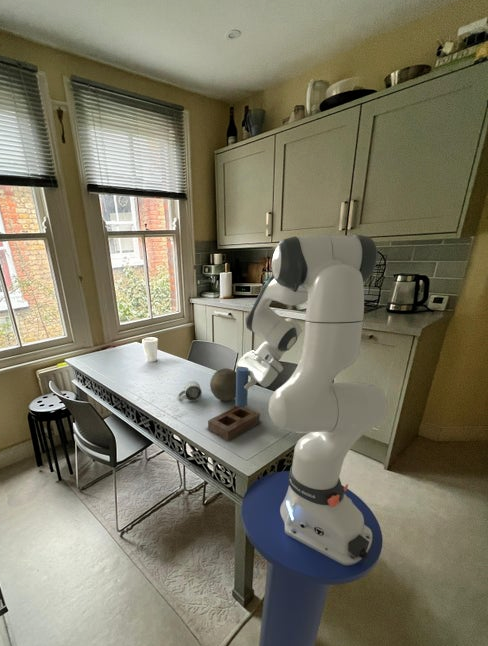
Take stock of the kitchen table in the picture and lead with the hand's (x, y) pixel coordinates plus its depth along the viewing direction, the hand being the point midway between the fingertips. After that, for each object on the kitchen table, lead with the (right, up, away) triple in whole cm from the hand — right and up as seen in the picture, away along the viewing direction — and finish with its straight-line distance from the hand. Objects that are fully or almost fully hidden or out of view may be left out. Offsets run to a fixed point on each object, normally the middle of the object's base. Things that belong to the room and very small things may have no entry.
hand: (241, 385), depth 119 cm
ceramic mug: (-19, -6, +28) cm, 34 cm away
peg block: (-2, -16, +5) cm, 17 cm away
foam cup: (-43, +15, +75) cm, 88 cm away
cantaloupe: (-3, -7, +24) cm, 26 cm away
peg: (+1, -8, +4) cm, 8 cm away
